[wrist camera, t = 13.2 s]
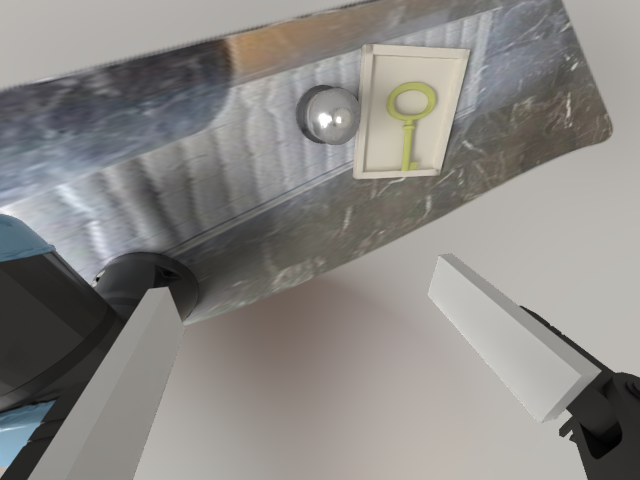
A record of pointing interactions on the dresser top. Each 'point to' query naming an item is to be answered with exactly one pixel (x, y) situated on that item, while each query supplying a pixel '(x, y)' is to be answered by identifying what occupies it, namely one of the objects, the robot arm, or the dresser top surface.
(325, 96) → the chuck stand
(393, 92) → the key
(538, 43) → the dresser top surface
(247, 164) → the dresser top surface
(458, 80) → the tray
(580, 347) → the robot arm
